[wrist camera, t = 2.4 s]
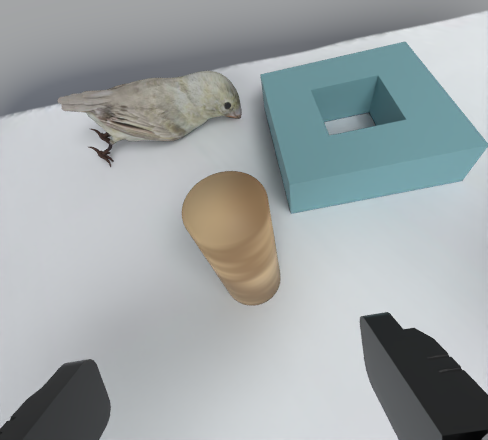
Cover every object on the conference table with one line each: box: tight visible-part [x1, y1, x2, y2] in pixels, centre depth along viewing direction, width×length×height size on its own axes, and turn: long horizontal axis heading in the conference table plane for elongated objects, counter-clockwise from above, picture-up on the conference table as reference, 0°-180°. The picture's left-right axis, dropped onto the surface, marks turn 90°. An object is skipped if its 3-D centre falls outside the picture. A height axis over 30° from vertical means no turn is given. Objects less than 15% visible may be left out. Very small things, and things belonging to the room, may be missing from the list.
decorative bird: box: [58, 71, 241, 167], centre depth 29 cm, size 5×16×7 cm, turn 102°
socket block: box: [261, 42, 488, 214], centre depth 26 cm, size 14×14×4 cm
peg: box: [182, 171, 280, 305], centre depth 18 cm, size 4×4×10 cm
